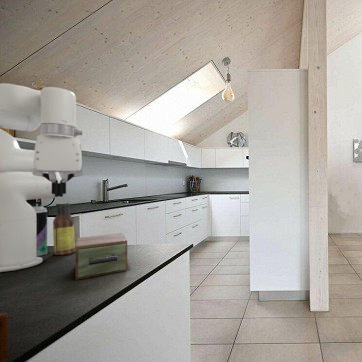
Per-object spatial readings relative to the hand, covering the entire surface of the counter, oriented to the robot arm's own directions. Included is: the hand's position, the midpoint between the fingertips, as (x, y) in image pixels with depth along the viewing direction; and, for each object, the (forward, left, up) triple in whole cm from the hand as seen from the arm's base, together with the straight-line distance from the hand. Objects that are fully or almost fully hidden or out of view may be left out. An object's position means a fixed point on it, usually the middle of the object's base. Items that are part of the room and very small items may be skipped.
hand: (59, 196), depth 74 cm
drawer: (+3, +10, -23) cm, 25 cm away
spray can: (-40, +5, -24) cm, 47 cm away
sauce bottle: (-33, +11, -24) cm, 42 cm away
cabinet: (-1, +11, -24) cm, 27 cm away
